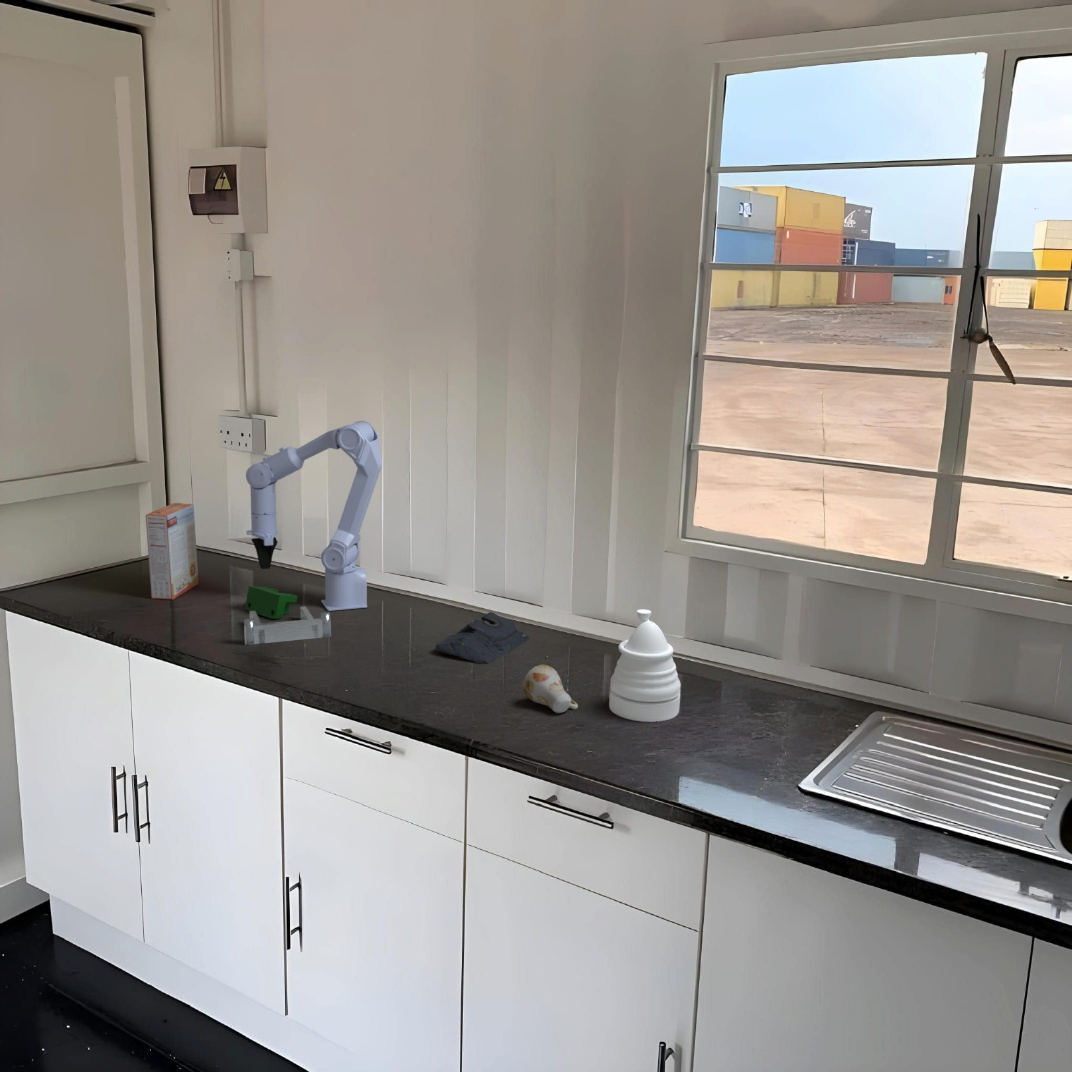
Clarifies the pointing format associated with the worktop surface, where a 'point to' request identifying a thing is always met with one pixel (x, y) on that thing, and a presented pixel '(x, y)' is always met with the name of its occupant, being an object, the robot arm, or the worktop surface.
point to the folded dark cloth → (483, 639)
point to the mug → (547, 689)
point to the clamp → (269, 602)
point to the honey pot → (645, 676)
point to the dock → (286, 628)
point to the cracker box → (172, 550)
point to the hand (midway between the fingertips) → (265, 568)
